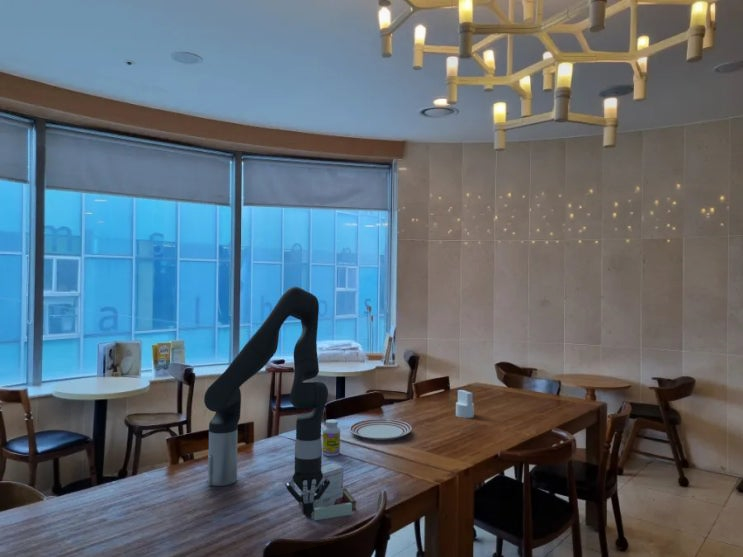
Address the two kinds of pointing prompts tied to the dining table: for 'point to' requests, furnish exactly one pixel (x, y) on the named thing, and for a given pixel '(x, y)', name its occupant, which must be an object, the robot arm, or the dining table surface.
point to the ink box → (331, 486)
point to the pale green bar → (332, 511)
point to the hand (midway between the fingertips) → (307, 514)
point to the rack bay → (346, 497)
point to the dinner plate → (380, 429)
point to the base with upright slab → (464, 404)
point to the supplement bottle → (331, 438)
